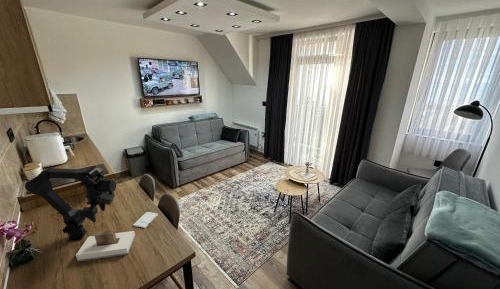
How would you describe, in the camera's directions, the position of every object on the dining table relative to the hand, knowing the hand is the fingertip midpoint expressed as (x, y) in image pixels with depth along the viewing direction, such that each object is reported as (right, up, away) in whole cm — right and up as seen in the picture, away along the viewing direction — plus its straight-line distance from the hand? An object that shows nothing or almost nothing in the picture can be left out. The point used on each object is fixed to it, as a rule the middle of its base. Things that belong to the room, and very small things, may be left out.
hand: (99, 216), depth 111 cm
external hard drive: (+17, -9, +17) cm, 25 cm away
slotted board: (+8, -15, -4) cm, 18 cm away
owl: (-31, +2, +41) cm, 51 cm away
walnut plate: (+8, -14, -4) cm, 17 cm away
